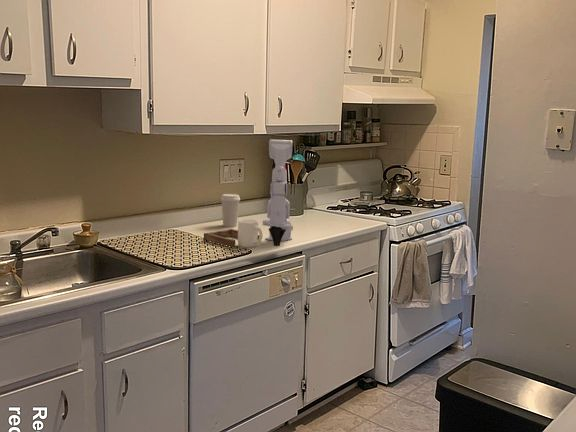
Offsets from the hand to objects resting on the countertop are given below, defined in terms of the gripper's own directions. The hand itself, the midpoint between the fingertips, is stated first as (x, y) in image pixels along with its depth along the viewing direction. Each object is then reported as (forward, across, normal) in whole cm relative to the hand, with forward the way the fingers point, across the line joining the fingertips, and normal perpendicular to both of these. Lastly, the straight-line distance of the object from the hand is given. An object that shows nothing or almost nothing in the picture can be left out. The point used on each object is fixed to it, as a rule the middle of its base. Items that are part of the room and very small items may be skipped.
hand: (276, 245), depth 232 cm
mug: (+3, -15, 0) cm, 15 cm away
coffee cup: (+3, -52, +23) cm, 57 cm away
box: (+3, -26, 0) cm, 26 cm away
